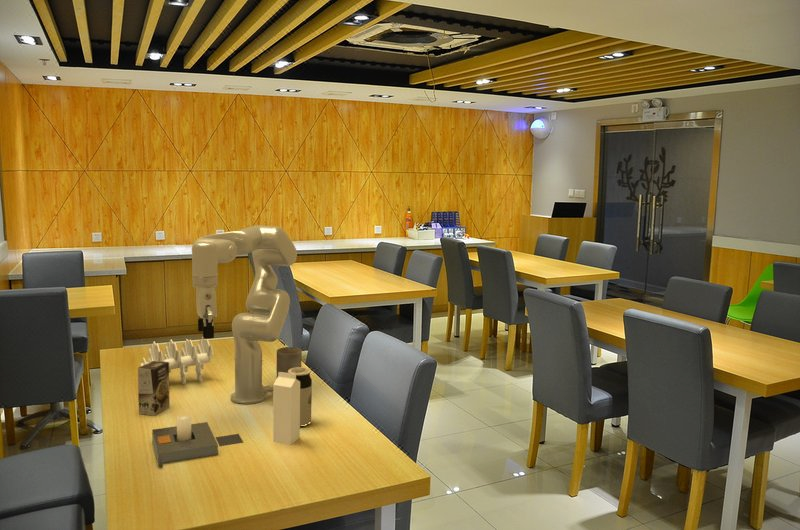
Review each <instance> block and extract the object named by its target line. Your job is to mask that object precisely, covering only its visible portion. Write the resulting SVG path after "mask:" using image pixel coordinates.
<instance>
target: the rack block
mask: <svg viewBox="0 0 800 530" xmlns="http://www.w3.org/2000/svg"><path fill="white" fill-rule="evenodd" d="M151 433H152V434H151V436H152V437H151V439H152V446H153V451H154V455H155V459H156V463H158V464H157V467H160V468H163V467H164V465H163V464H169V463H176V462H181V461H188V460H194V459H200V458H206V457H211V456H212V457H213V456H218V455H219V444H218V442H217V440H216V438H215V436H214V433H213V432H212V430H211V427H210V425H209V423H208V421H204V422H198V423H191V440H187V441H180V442H177V425H176V426H169V427H163V428H154V429H152V430H151Z"/></svg>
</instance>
